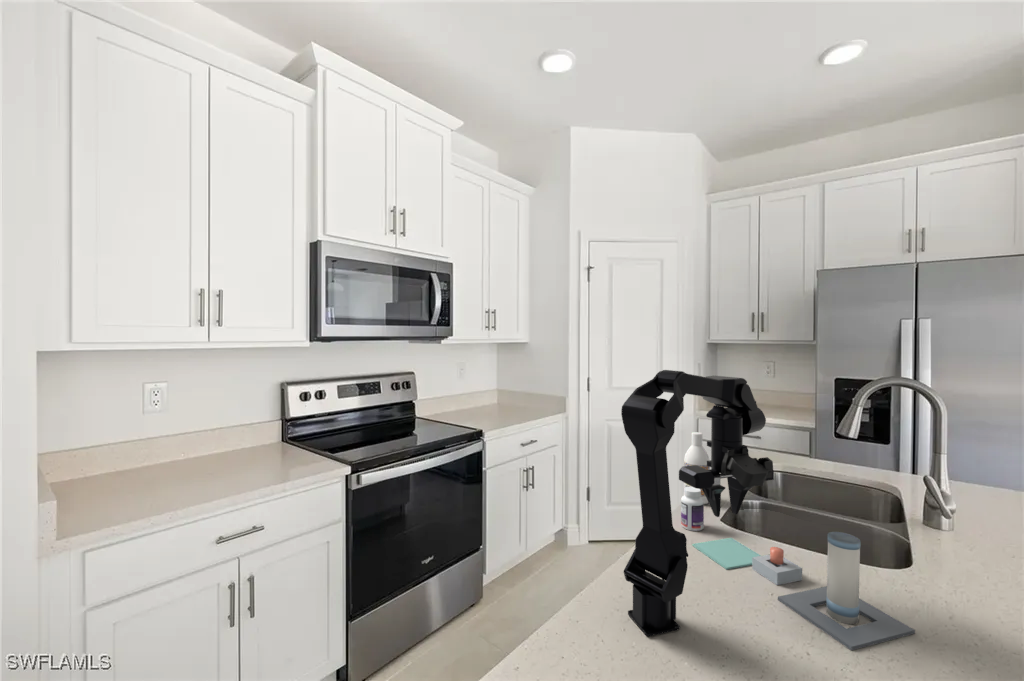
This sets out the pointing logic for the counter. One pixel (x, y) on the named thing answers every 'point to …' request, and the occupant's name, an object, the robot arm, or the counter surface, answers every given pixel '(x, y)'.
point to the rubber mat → (727, 552)
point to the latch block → (777, 570)
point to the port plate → (849, 637)
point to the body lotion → (697, 457)
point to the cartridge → (843, 577)
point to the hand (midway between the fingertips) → (725, 514)
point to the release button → (776, 555)
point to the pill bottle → (692, 509)
